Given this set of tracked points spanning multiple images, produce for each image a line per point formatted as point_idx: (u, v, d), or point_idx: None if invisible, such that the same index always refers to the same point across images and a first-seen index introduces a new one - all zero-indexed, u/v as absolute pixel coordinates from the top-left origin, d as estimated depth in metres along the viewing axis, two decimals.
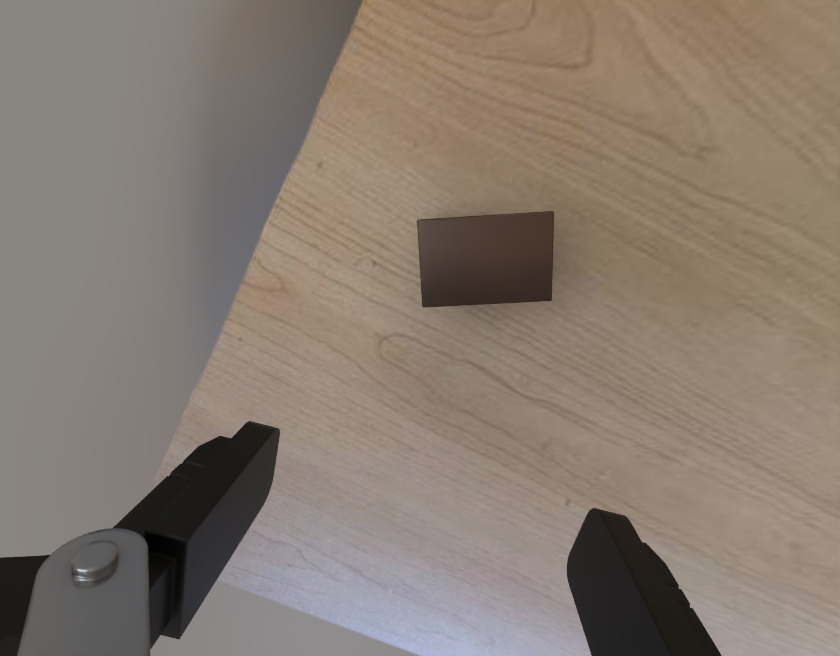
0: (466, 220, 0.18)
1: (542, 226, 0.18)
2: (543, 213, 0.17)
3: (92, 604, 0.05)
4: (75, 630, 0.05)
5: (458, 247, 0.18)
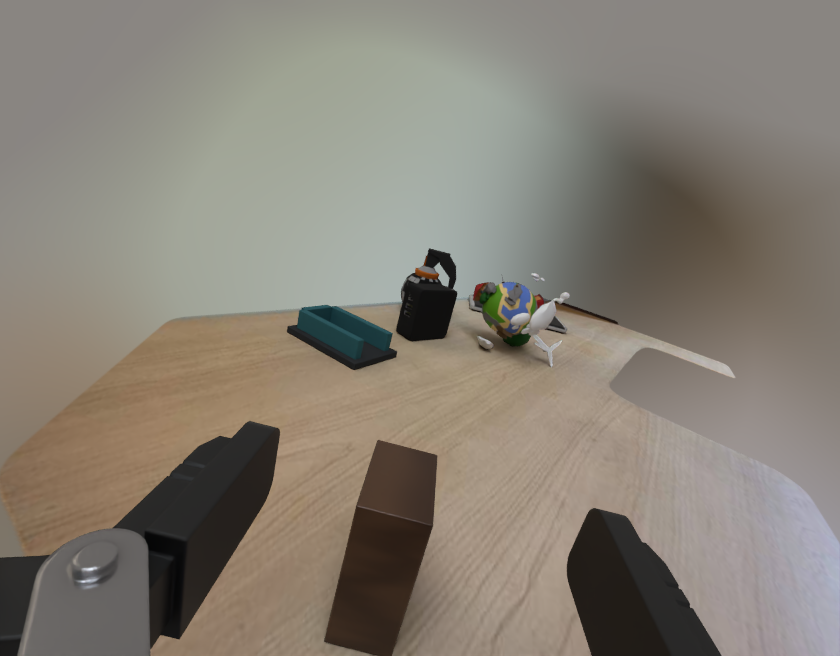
0: (367, 478, 0.22)
1: (385, 446, 0.25)
2: (377, 443, 0.25)
3: (92, 604, 0.05)
4: (75, 630, 0.05)
5: (387, 488, 0.22)
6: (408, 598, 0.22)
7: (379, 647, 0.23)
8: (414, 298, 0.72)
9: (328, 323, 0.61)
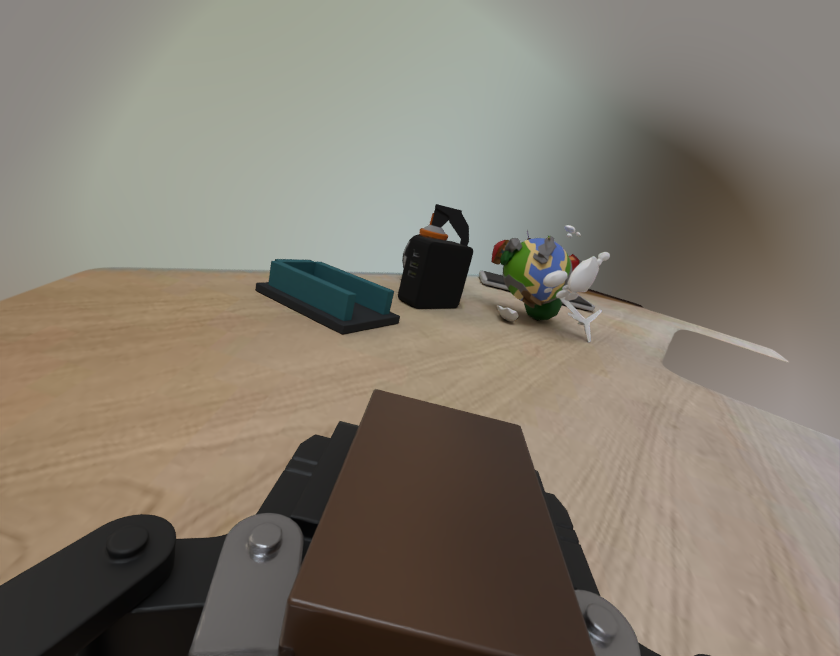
0: (343, 484, 0.07)
1: (395, 402, 0.10)
2: (374, 396, 0.10)
3: (259, 577, 0.06)
4: (271, 596, 0.06)
5: (406, 519, 0.07)
6: None
7: None
8: (421, 253, 0.57)
9: (308, 275, 0.46)
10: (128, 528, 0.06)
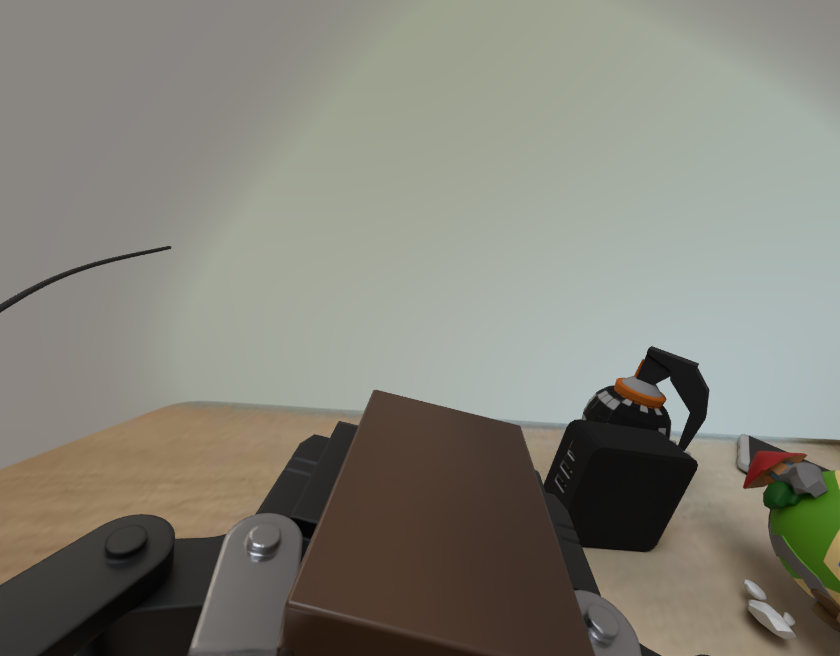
0: (342, 486, 0.07)
1: (394, 402, 0.10)
2: (373, 396, 0.10)
3: (257, 577, 0.06)
4: (270, 596, 0.06)
5: (405, 520, 0.06)
6: None
7: None
8: (578, 457, 0.33)
9: None
10: (126, 529, 0.06)
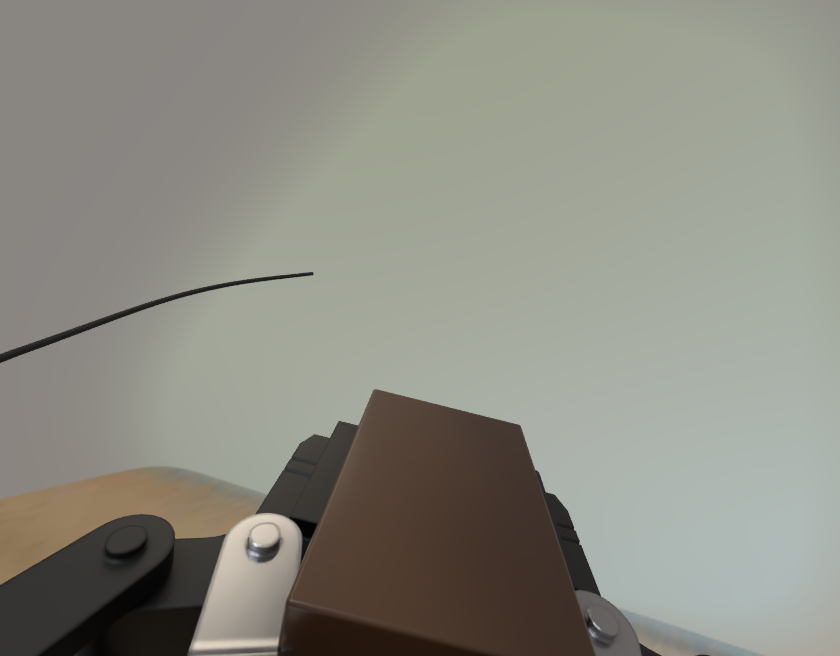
0: (343, 485, 0.07)
1: (394, 402, 0.10)
2: (373, 396, 0.10)
3: (258, 577, 0.06)
4: (270, 596, 0.06)
5: (406, 519, 0.06)
6: None
7: None
8: None
9: None
10: (127, 529, 0.06)
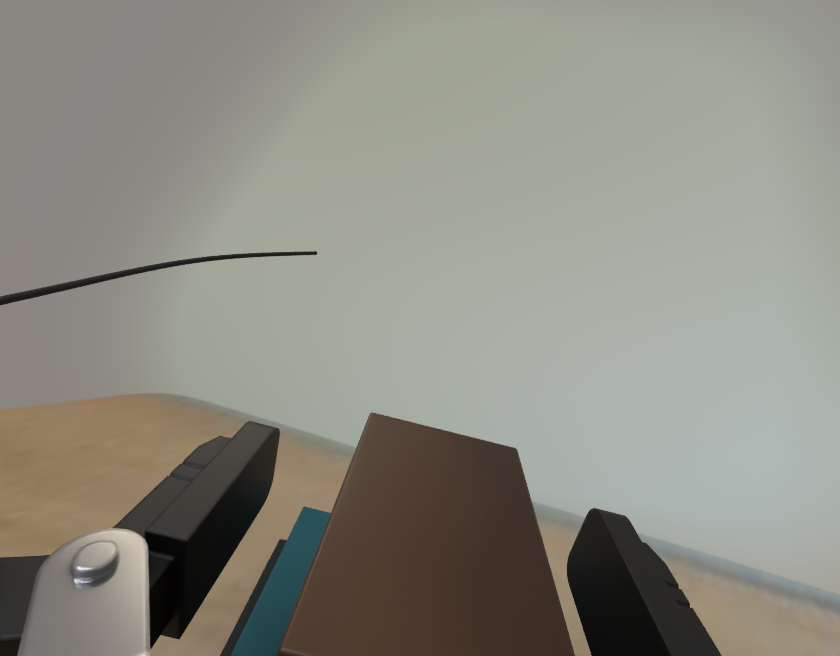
0: (337, 520, 0.07)
1: (391, 426, 0.10)
2: (370, 420, 0.10)
3: (92, 604, 0.05)
4: (75, 630, 0.05)
5: (400, 556, 0.07)
6: None
7: None
8: None
9: None
10: None
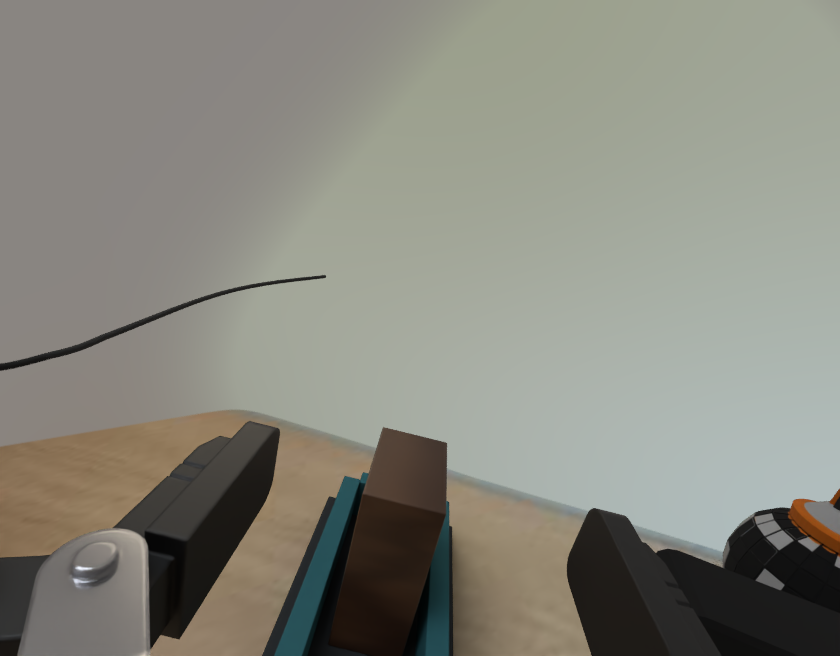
0: (374, 465, 0.21)
1: (392, 433, 0.24)
2: (383, 431, 0.24)
3: (92, 603, 0.05)
4: (75, 630, 0.05)
5: (395, 476, 0.20)
6: (419, 595, 0.20)
7: (388, 650, 0.21)
8: None
9: (327, 543, 0.24)
10: None
